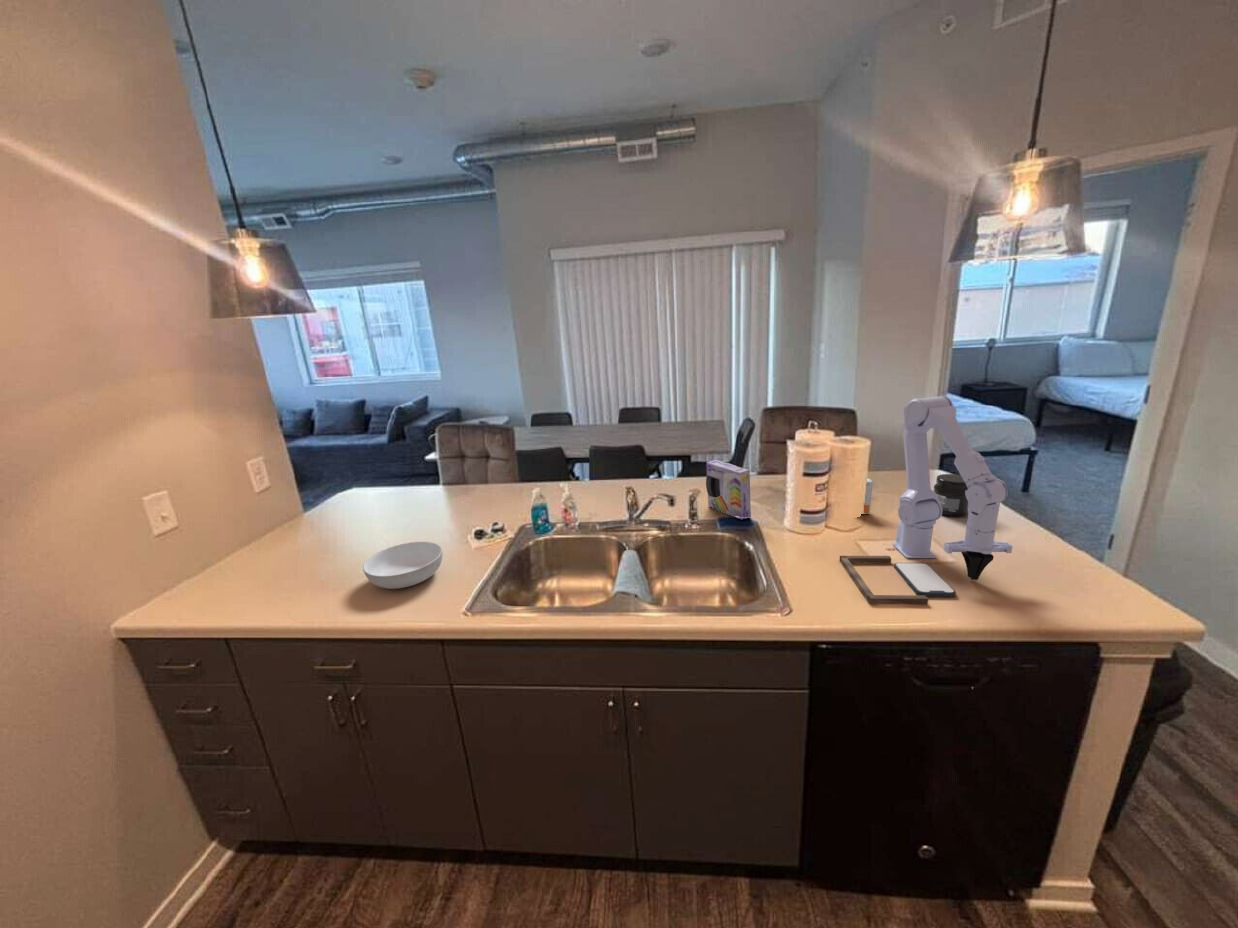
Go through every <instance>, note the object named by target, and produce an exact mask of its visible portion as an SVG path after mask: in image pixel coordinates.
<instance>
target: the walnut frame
mask: <svg viewBox="0 0 1238 928" xmlns="http://www.w3.org/2000/svg"><path fill="white" fill-rule="evenodd" d="M838 560H839V562H840V564H841V565H842V567H843V568H844V570H845V572H847V574H848V576H849V577H850V578H851V580H852V581H853V582H854V584H855V585H856V588H857V589H858V590H859V591H860V593H861V594H862V596H863V598H864V599H865V600H866V602H867V603H868V604H869V605H924V606H925V605H928V604H929V597H926V596H925V595H917V594H916V595H915V594H914V595H913V594H912V595H911V594H909V595H907V594H906V595H905V594H904V595H901V594H893V595H892V594H874V593H873V592H872V590H871V588H869V587H868V585H867V583H866V582H865V581H864V579H863V578H862V577H861V575H860V574H859V572H858V571H857V569H855V567H854V566H853V564H892V556H890V555H839V559H838Z"/></svg>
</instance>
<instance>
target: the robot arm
mask: <svg viewBox="0 0 1238 928" xmlns="http://www.w3.org/2000/svg"><path fill="white" fill-rule="evenodd" d="M956 415H957V408H956V407H955V405H954V404H953V401H952V400H951V398H950V397H949V396H947V395H944V394H943V395H942V394H941V395H938V396H932V397H924V398H918V397H917V398H913V399H910V400H909V401H908V403H907V404H906V405H905V406H903V416H904V417H903V418H904V421H903V424H902V434H903V447H904V461H905V473H906V474H905V475H906V487H907V488H906V489H907V490H905V492H904V493H902V494H901V496H900V498H899V505H898V508H897V513H898V514H897V515H898V517H899V521H898V523H897V531H896V537H895V538H896V539H895V541H893V542H892V546H894V547H895V548H896V549H897V550H898V552H900V554H901V555H902V556H904V557H905V558H906V559H937V555H936V554H935V553H933V552H932V551H931V547H932V539H933V534H934V533H933V531H934V526H935V525H936V523H937V520H940V518H941V517H942V516H943V515H942V507H941V505H940V503H939V499H938V494H936V493H935V492H934V490H932V489H931V476H930V475H931V474H930V464H929V463H930V461H929V449H928V431H929V430H931V429H933V430H938V432H939V433H940V435H941V436H942V437H943V439H944V440H945V441H946V444H947V445H948V446H949V448H950V449H951V451H952V452H953V454H954V455H955V459H954V461H953V464H954V467H956V470H957V471H958V473H959V475H961V477H962V478H963V480H964V482H965V484H966V485H967V487H968V490H965V495H966V498H967V500H968V508H969V512H968V515H967V522H966V527H965V534H964V539H963V540H957V541H952V542H951V541H950V542H944V546H943V551H944V552H946V553H947V554H953V553H961V554H962V556H963V559H964V563H965V566H966V571H967V577H968V578H970V579H971V580H972V581H978V580H979V579H980V577H981V574H982V572H983V571H984V570H985V568H986V567H987V566H988V565H989V564H990V563H992V562H993V560H994V556H995V555H993V554H992V553H1002V552H1003V553H1006V554H1012V553H1013V545H1011V544H1010V543H1009V542H1005V541H1004V542H1003V541H1002V542H1001V541H994V540H995V534H996V529H997V522H998V518H999V511H1000V505H1001V503H1003V502H1004V501H1005V500H1006V499H1007V498H1008V494H1009V490H1008V487H1007V484H1006V482H1004V481H1003V480H1001V479H1000V478H997V477H996V475H994V474H993V473H992V472H991V470H990V468H989V466H988V465H987V463H986V462H985V460H986V459H985V457H984V456H983V455H981V453H980V452H978V451H975V450H973V449H972V448H971V447H970V444H969V443H968V441H967V438H966V435H965V434H964V432H963V430H962V428H961V425H960V424H959V422H958V419H957V417H956Z"/></svg>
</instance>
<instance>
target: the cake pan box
mask: <svg viewBox="0 0 1238 928" xmlns="http://www.w3.org/2000/svg"><path fill="white" fill-rule="evenodd" d="M705 465H706V478H705V488H706V492H707V502H708V503H707V504H708V506H709V507H708V508H710V507H712V508H711V509H713V508H714V509H713V510H715V509H716V510H715V511H717V510H718V511H717V512H720V511H721V512H720V513H722V512H723V513H722V514H724V513H726V514H725V515H727V514H729V515H733V516H739V517H752V516H751V515H752V513H751V512H752V511H751V476H750V475H751V474H750V473H751V472H750V469H748V468H747V469H746V468H743V467H740V466H737V465H734V464H732V463H729V462H724V461H721V460H718V459H713V460H711V461H707V462H706V464H705ZM729 515H728V516H729Z"/></svg>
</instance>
